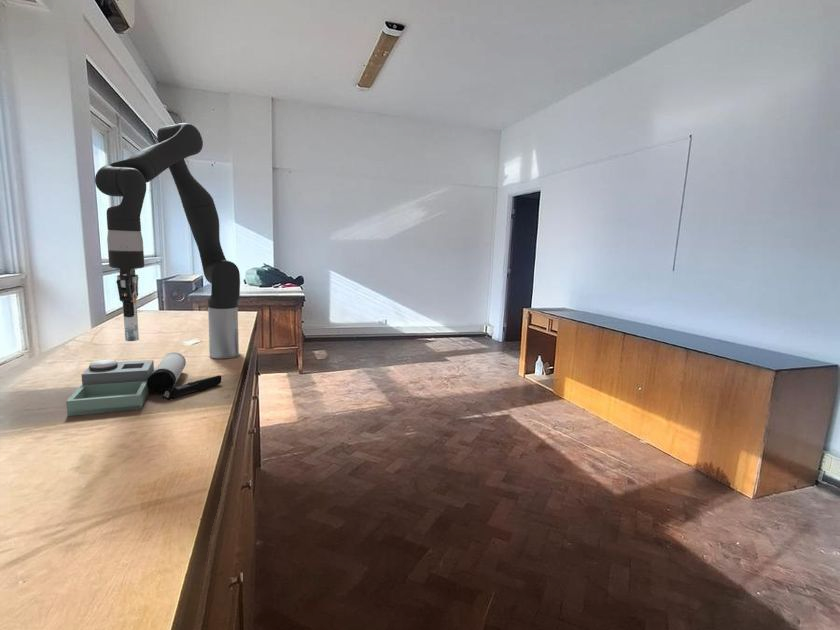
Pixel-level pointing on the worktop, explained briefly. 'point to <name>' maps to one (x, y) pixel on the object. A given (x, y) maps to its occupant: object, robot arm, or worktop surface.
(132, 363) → the grey slotted holder
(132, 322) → the gold capped cylinder
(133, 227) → the robot arm
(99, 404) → the tray
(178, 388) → the electric trimmer
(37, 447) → the worktop surface
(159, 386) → the travel mug
